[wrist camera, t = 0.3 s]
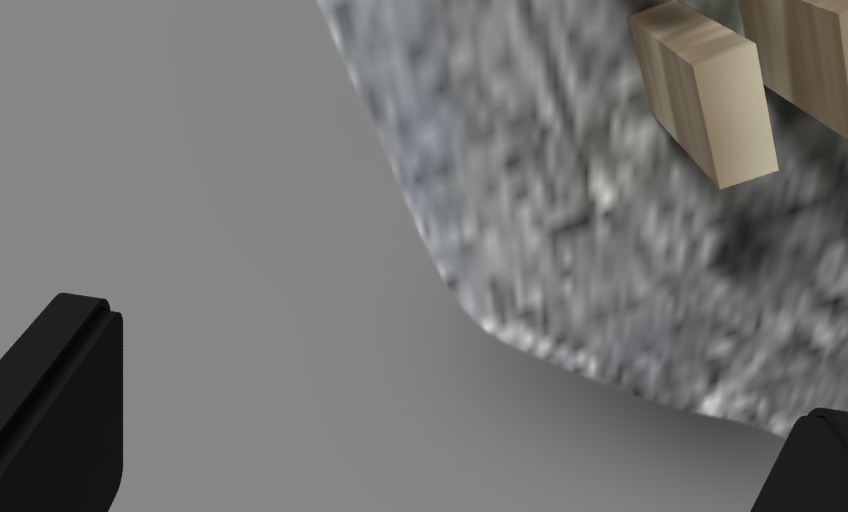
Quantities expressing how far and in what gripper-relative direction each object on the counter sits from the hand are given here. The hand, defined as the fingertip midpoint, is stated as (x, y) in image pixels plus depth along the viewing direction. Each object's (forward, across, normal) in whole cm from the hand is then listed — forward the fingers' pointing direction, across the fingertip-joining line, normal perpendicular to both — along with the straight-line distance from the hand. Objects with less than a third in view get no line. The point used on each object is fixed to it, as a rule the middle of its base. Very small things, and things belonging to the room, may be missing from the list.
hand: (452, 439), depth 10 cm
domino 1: (+29, -11, -1) cm, 31 cm away
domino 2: (+29, -15, -4) cm, 33 cm away
